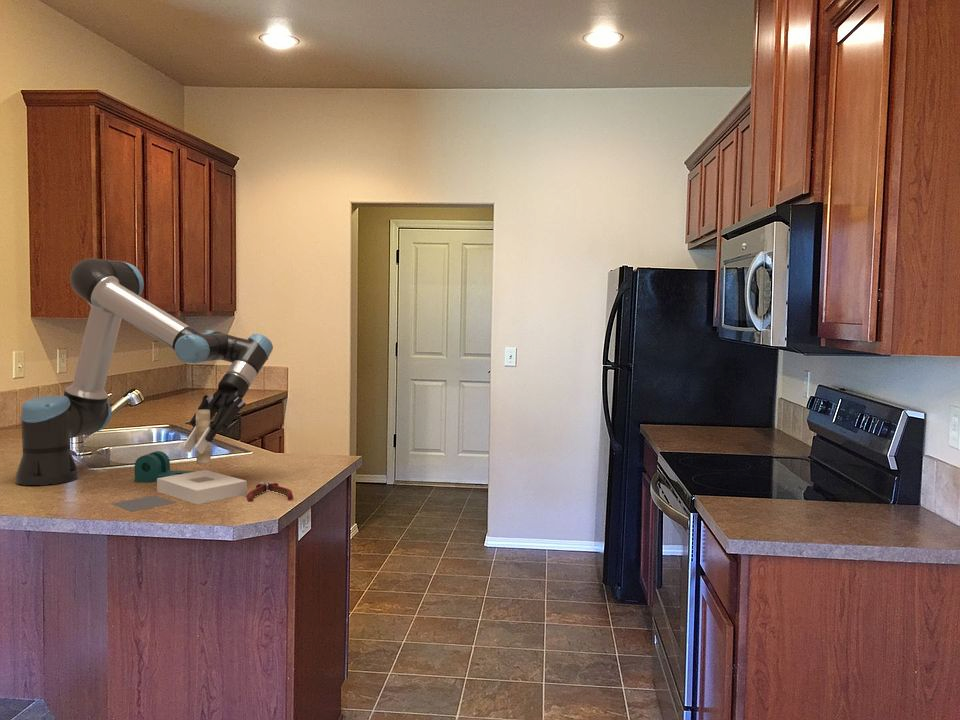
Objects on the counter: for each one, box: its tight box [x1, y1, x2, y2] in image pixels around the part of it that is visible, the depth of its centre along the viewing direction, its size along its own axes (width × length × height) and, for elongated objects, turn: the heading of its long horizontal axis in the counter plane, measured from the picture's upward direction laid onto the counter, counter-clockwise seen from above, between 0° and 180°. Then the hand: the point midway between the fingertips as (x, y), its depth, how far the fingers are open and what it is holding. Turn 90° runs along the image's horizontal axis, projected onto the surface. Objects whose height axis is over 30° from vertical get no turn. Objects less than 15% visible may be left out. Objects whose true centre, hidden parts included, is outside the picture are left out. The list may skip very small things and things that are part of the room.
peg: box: [195, 409, 212, 465], centre depth 187 cm, size 4×4×14 cm
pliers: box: [246, 481, 294, 503], centre depth 191 cm, size 12×20×3 cm, turn 21°
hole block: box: [156, 469, 248, 506], centre depth 188 cm, size 20×14×4 cm
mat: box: [111, 494, 177, 513], centre depth 177 cm, size 11×11×1 cm
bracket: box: [133, 450, 196, 483], centre depth 203 cm, size 18×7×8 cm, turn 84°
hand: (192, 449), depth 184 cm, fingers closed on peg, 3 cm apart
